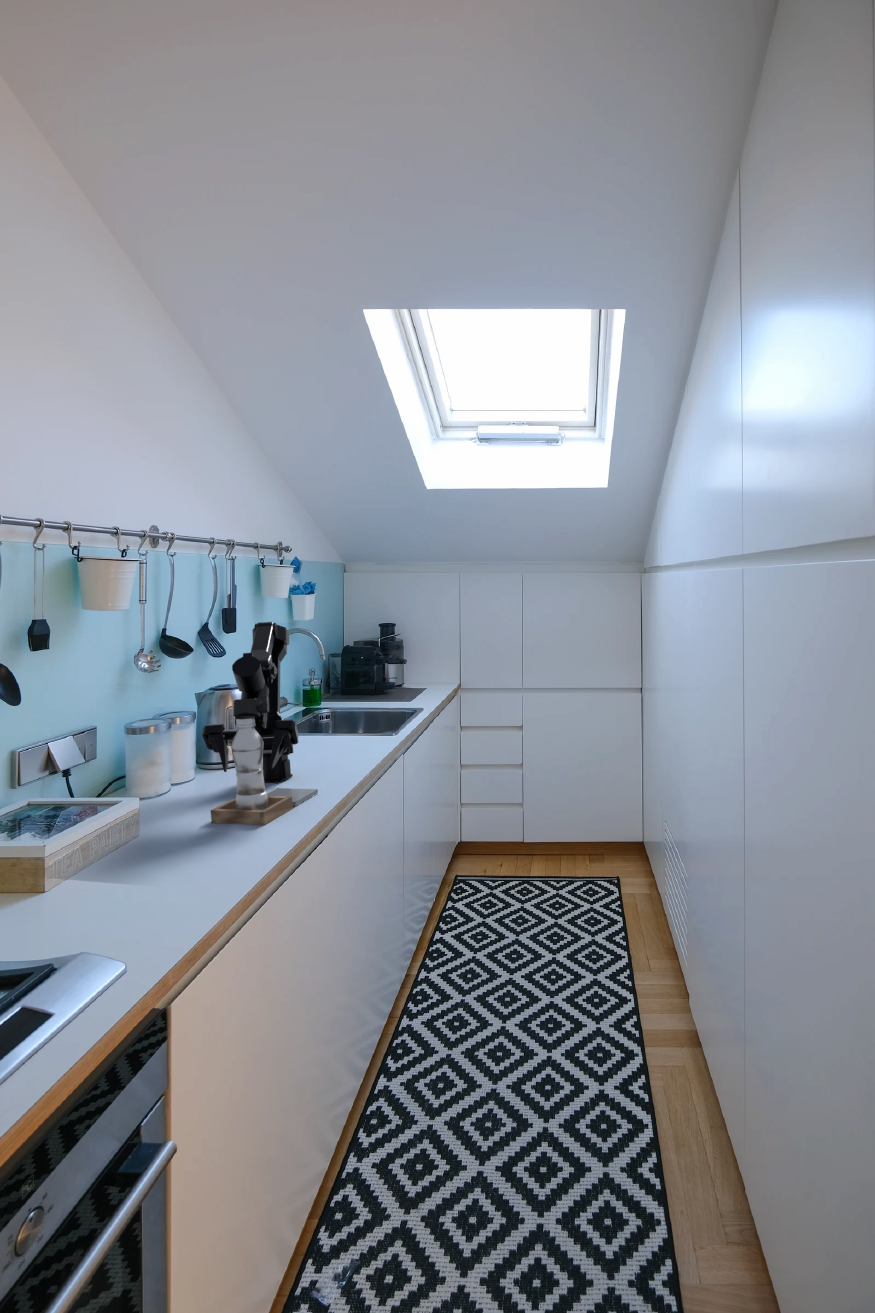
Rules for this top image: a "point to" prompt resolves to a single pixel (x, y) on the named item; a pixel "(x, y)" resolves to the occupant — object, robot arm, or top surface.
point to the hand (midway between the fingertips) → (248, 769)
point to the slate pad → (294, 794)
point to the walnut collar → (251, 812)
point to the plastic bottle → (249, 766)
